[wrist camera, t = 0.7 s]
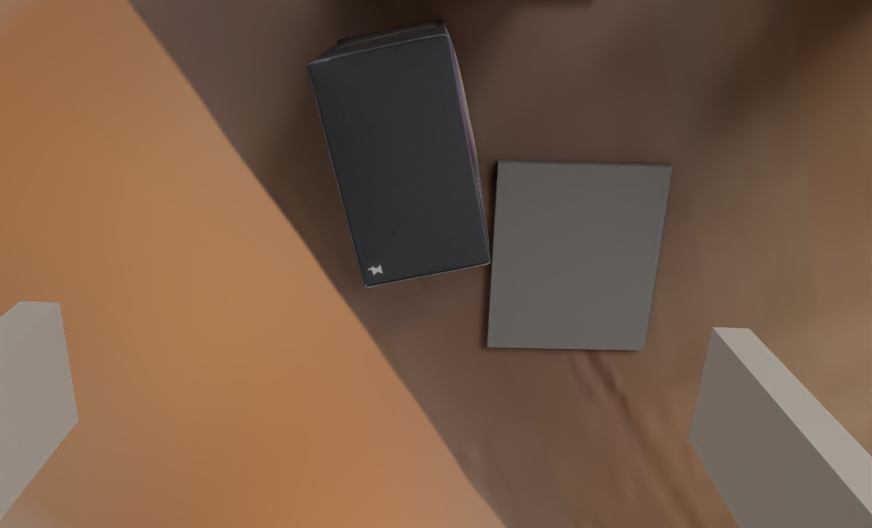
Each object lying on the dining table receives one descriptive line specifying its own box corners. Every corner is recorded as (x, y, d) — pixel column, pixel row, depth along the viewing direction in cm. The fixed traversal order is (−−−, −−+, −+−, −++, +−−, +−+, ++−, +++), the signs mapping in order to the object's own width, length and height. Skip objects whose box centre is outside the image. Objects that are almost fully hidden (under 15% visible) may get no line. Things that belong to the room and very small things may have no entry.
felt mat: (669, 164, 41) (673, 166, 40) (641, 345, 45) (643, 350, 45) (497, 160, 41) (498, 162, 40) (486, 342, 45) (487, 347, 45)
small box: (484, 199, 42) (498, 269, 32) (377, 220, 42) (359, 295, 33) (449, 14, 38) (455, 30, 28) (332, 39, 38) (296, 63, 29)
